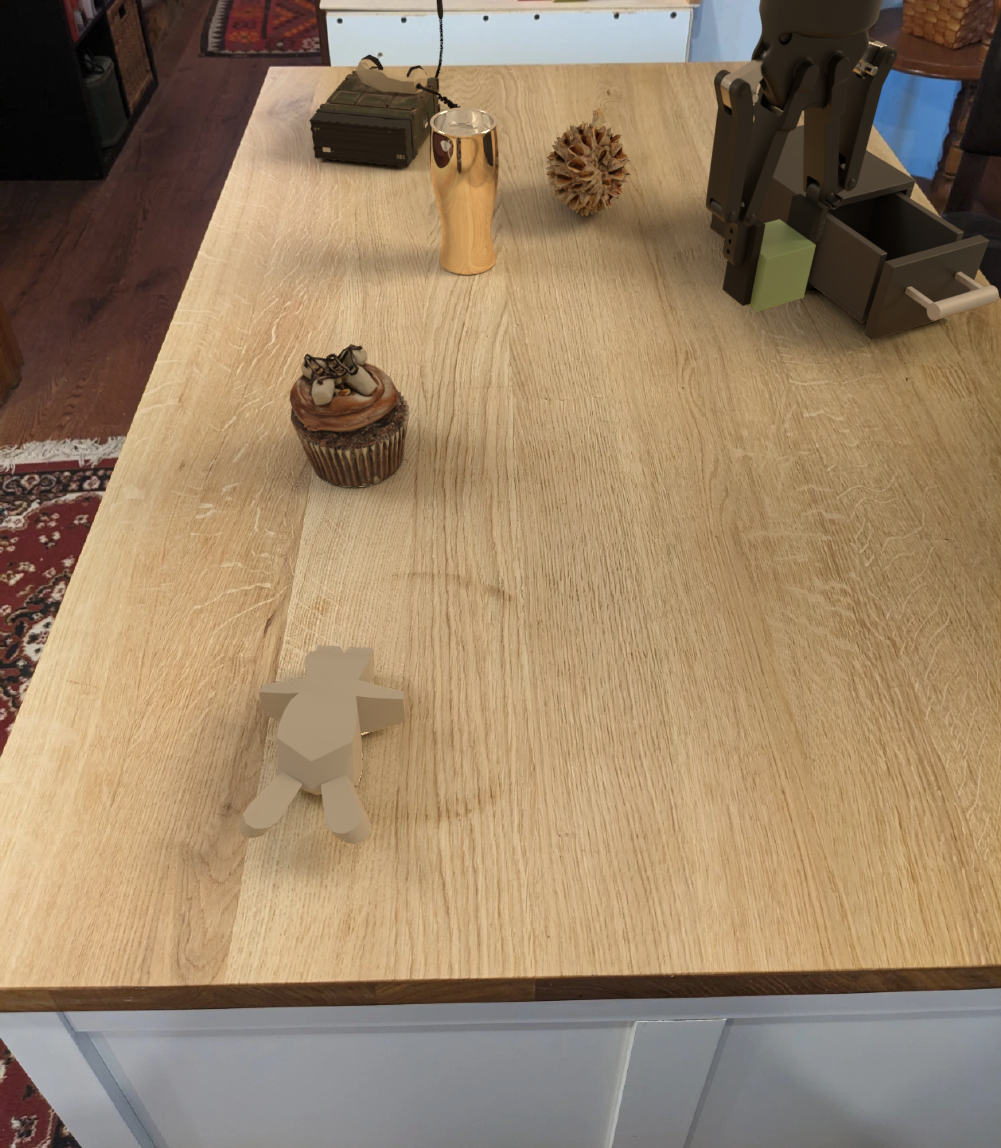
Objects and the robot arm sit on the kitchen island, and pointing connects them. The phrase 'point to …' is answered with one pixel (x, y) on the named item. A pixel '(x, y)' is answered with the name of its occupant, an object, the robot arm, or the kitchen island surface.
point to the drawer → (897, 265)
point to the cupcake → (349, 418)
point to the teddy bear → (324, 739)
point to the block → (781, 266)
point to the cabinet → (789, 182)
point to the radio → (378, 114)
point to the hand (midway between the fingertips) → (764, 287)
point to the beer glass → (465, 186)
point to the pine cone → (588, 166)
